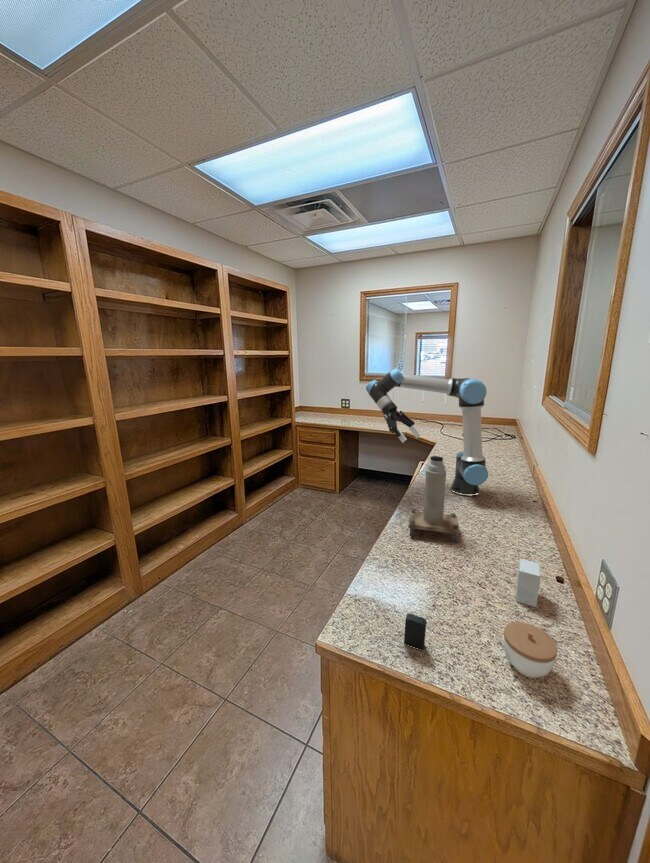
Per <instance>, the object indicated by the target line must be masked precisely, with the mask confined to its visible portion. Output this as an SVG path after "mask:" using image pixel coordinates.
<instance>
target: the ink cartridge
mask: <svg viewBox="0 0 650 863" xmlns="http://www.w3.org/2000/svg"><path fill="white" fill-rule="evenodd" d="M404 622H405V624H404V626H405V627H404V637H403V644H404V645H405V644H406V645H409V646H412V647H415V648H418V649H421V650H423V651H424V650H425V648H424V647H425V644H426V642H425V641H426V630H427V619H426V618H424V617H422V616H418V615H415V614H414V613H413V614H412V613H408V612H407V613H406V617H405V621H404ZM406 645H405V646H406ZM409 646H408V647H409ZM412 647H411V648H412ZM415 648H414V649H415ZM418 649H417V650H418ZM421 650H420V651H421Z"/></svg>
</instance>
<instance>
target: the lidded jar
mask: <svg viewBox="0 0 650 863" xmlns="http://www.w3.org/2000/svg"><path fill="white" fill-rule="evenodd" d="M503 649H504V652H505V655H506V657H507V659H508V661H509V663H511V666H513V668H514V669H515V670H516V671H517V672H518V673H519V672H520V673H519V674H521V675H522V674H523V676H524V675H525V676H524V677H526V676H527V678H529V677H530V678H531V679H538V678H543V677H545V676H547V675H548V674H549V673H551V671H552V670H553V668H554V666H555V663H556V658H557V655H558V647H557V644H556V642H555V640H553V638H552V637H551V636H550V635H549V634H548V633H546V631H544V630H543V629H541V628H539V627H537V626H535V625H533V624H530V623H527V622H523V621H522V622H521V621H514V622H513V621H512V622H510V623H508V624H506V625H505V627H504V630H503Z"/></svg>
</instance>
